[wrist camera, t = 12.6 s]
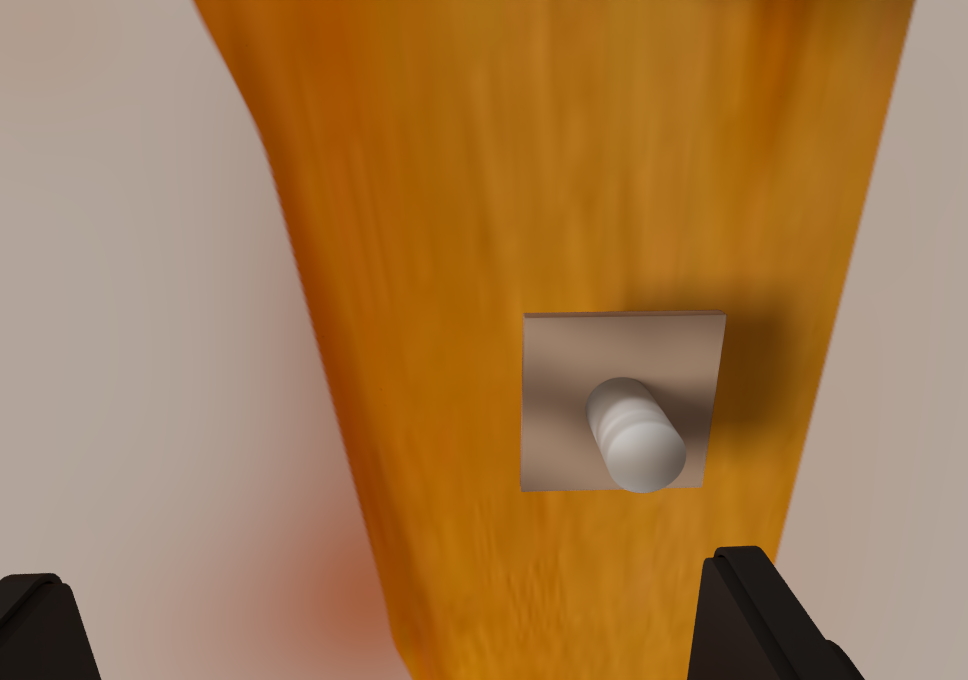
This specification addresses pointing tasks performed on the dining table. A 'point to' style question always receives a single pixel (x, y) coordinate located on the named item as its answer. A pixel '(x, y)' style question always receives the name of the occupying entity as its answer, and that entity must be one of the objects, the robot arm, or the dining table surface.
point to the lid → (618, 399)
